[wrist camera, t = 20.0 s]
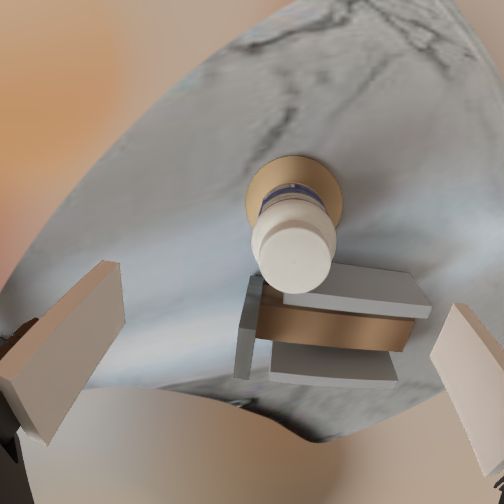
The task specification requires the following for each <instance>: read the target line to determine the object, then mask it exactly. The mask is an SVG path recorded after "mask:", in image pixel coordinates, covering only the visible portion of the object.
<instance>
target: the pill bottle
mask: <svg viewBox="0 0 504 504" xmlns="http://www.w3.org/2000/svg"><path fill="white" fill-rule="evenodd" d="M336 245H337V238H336V232H335V228H334V225H333V223H332V220H331V219H330V217H329V215H328V212H327V210H326V208H325V206H324V204H323V202H322V200H321V199H320V197H319V196H318V194H317V193H316V192H315V191H314V190H312V189H311V188H310V187H308V186H306V185H304V184H301V183H295V182H289V183H283V184H280V185H278V186H276V187H274V188H273V189H271V190H270V191H269V192H268V193H267V194H266V195H265V197H264V198H263V200H262V203H261V205H260V208H259V211H258V215H257V218H256V222H255V224H254V228H253V232H252V238H251V246H252V251H253V255H254V257H255V259H256V261H257V263H258V265H259V267H260V271H261V274H262V276H263V277H264V279H265V280H266V281H267V283H268V284H270V285H271V286H272V287H273V288H275V289H277V290H279V291H281V292H284V293H289V294H300V293H305V292H308V291H311V290H313V289H315V288H316V287H318V286H319V285H320V284H321V283H322V282H323V281H324V280H325V278H326V277H327V275H328V273H329V271H330V267H331V261H332V259H333V257H334V254H335V251H336Z"/></svg>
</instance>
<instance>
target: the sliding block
mask: <svg viewBox="0 0 504 504" xmlns="http://www.w3.org/2000/svg"><path fill="white" fill-rule="evenodd" d="M263 280H264V277H258V276H250V280H249V285H248V289H247V293H246V298H245V302H244V306H243V311H242V315H241V319H240V324H239V329H238V338H237V348H236V357H235V367H234V378H240V379H247V380H249V375H250V368H251V362H252V355H253V349H254V342H255V338H259V339H266V340H273V341H281V342H290V343H298V344H307V345H317V346H327V347H338V348H349V349H362V350H377V351H395V352H402V351H403V349H404V347H405V345H406V343H407V340H408V338H409V336H410V333H411V331H412V329H413V326H414V324H415V320H414V318H410V317H398V316H387V315H377V314H367V313H357V312H348V311H338V310H330V309H321V308H313V307H304V306H296V305H288V304H283V293H284V292H281V291H279V290H277V289H275V288H273V287H272V286H270V285H263Z"/></svg>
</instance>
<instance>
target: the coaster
mask: <svg viewBox="0 0 504 504" xmlns="http://www.w3.org/2000/svg"><path fill="white" fill-rule="evenodd" d="M289 182H295V183H301V184H304V185H306V186H308V187H310V188H311V189H312V190H314V191H315V192H316V193H317V194H318V196H319V197H320V199H321V200H322V202H323V204H324V206H325V208H326V210H327V212H328V215H329V217H330V219H331V220H332V223H333V225H334V228H335V229H336V227H337V225H338V223H339V221H340V218H341V214H342V208H343V199H342V193H341V190H340V187H339V185H338V183H337V181H336V179H335V178H334V176H333V175H332V174H331V173H330V171H329V170H327V169H326V168H325V167H324V166H323V165H321V164H320V163H318V162H316V161H314V160H312V159H309V158H306V157H302V156H286V157H281V158H278V159H275V160H273V161H271V162H269V163H268V164H266V165H265V166H263V167H262V168H261V169H260V170H259V171H258V172H257V173H256V174H255V176H254V177H253V179H252V181H251V183H250V185H249V187H248V190H247V193H246V200H245V207H246V214H247V218H248V220H249V223H250V225H251V226H252V228H254V224H255V222H256V218H257V215H258V211H259V208H260V205H261V203H262V200H263V198H264V197H265V195H266V194H267V193H268V192H269V191H270V190H271V189H273V188H274V187H276V186H278V185H280V184H283V183H289Z"/></svg>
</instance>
